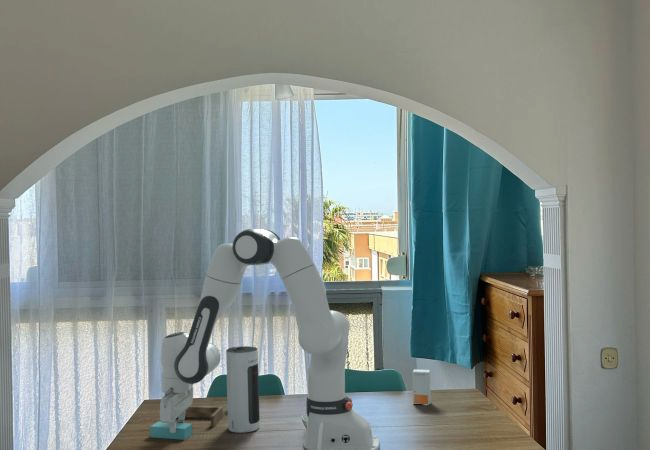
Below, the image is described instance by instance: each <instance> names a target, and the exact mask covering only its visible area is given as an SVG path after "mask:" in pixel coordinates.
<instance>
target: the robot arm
mask: <svg viewBox="0 0 650 450" xmlns="http://www.w3.org/2000/svg"><path fill="white" fill-rule="evenodd" d="M279 236H280V235H278V234H277V233H275V232H273V231H272V230H268V229H263V228H249V229H245V230H242V231H240V232H239V233H238V234H237V235H236V236H235V237H234V240H233V241H232V242H231V243H230V242H227V243H226V242H224V243H221V244H220V245H218V246H217V247H216V249H215V251H214V252H213V253H212V254H213V255H212V257H211V260H210V261H209V264H208V268H207V271H206V274H205V278H204V282H203V286H202V291H201V295H200V299H199V301H198V306H197V309H196V312H195V315H194V318H193V321H192V324H191V327H190V330H189V333H188V332H186V331H178V332H174V333H170V334H167V335H166V336H165V337H164V338H163V339H162V342H161V350H160V353H161V354H160V355H161V356H160V363H161V366H162V367H161V368H162V371H161V372H162V373H161V393H164V395H162V397H161V399H160V403H159V422H161V423H168V424H169V427H170V432H171V433H175V432H176V431H177V426H176V423H185V418H186V417H185V414H186V410H187V409H188V408H189V407H190V406H193V405H192V404H193V401H194V385H195V384H199V382H201V381H202V380H203V379H204V378H206V376H207V375H209V374H210V373H211V372H213V371H214V370H216V369H217V367H219V365H220V362H221V354H220V351H219V348H218V347H217V346H216V345H215V344H213V343H211V342H210V340H211V338H212V335H213V332H214V329H215V326H216V324H217V322H218V320H219V318H220V317H221V316H222V315H223V314H224V312H226V311H227V310H228V309H229V308H230V307H231V306H232V305H233V304H234V302H235V300H236V299H237V296H238V294H239V292H240V288H241V286H242V281H243V278H244V277H243V276H244V274H245V271H246V269H247V267H249V266H263V265H269V264H271V265H273V266H274V267H275V269H276V271H277V272H278V275H279V277H280V280H281V282H282V284H283V287H284V289H285V291H286V293H287V295H288V297H289V300H290V303H291V305H292V308H293V313H294V316H295V317H294V318H295V321H296V326H297V331H298V336H297V339H298V343H299V346H300V347H301V349H302V350H303V351H304V352H305V353H307V354H309V355H310V360H309V365H308V367H307V397H306V402H305V403H306V404H305V407H306V408H305V410H306V411H305V412H306V416H307V422H306V423H307V424H306V429H305V430H306V431H305V438H304V440H303V444H302V446H303V448H305V449H306V450H379V448H380V446H381V445H380V439H379V438H378V436H376V435H375V434H373V433H372V428H371V425H370V422H369V421H368V419H366V418H365V417H364V416H362V415H361V414H359V413H358V412H357V411H356V410H354V409H353V406H354V405H353V400H352V397H351V396H350V397H348V396H346V376H345V375H346V374H345V373H346V364H347V363H346V361H347V353H348V346H349V345H348V344H349V334H350V329H351V327H350V326H351V324H350V321H349V319H348V317H347V316H346V315H345V314H344V313H342V312H339V311H337V310H330V305H329V302H328V297H327V288H326V286H325V284H324V281H323V279H322V277H321V275H320V272H319V270H318V268H317V266H316V264H315V262H314V259H313V258H312V256H311V254H310V253H309V251H308V249H307V247H306V246H305V245H304V243H303V242H302V240H301V239H299V238H298V237H295V236H288V237H284V238H282V239H281V238H280V237H279ZM177 418H178V419H177Z"/></svg>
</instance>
